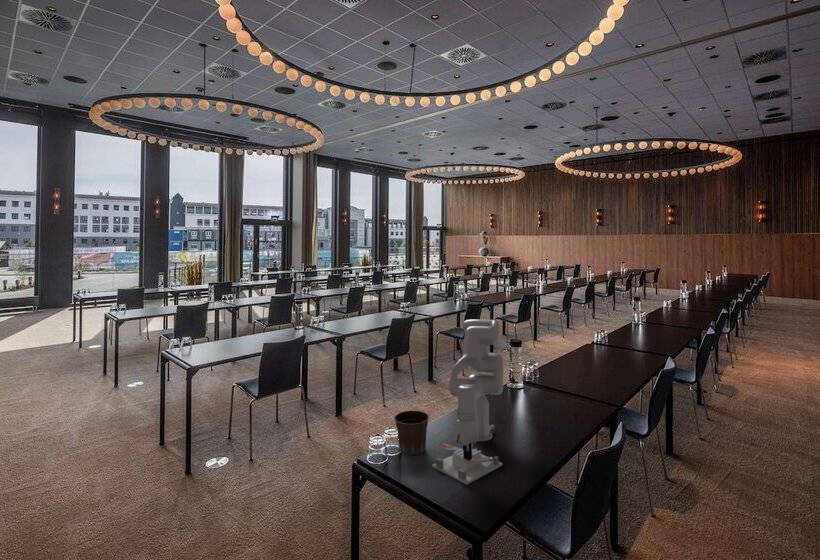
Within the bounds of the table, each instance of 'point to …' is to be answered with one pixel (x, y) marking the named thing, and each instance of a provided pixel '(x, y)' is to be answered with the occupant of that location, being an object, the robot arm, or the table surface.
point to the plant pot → (412, 431)
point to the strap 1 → (449, 447)
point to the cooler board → (468, 473)
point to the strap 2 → (478, 460)
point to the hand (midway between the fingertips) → (467, 458)
